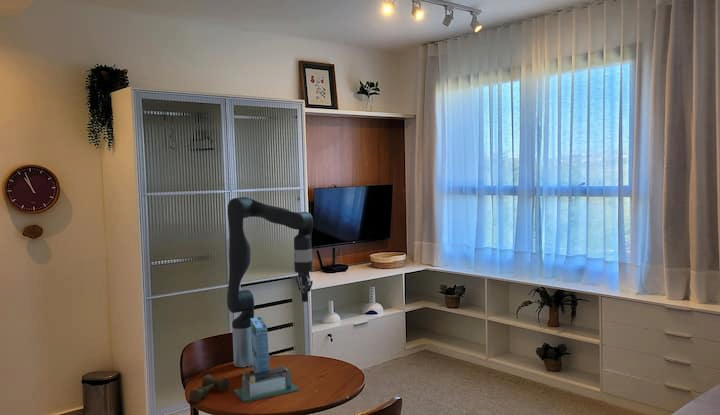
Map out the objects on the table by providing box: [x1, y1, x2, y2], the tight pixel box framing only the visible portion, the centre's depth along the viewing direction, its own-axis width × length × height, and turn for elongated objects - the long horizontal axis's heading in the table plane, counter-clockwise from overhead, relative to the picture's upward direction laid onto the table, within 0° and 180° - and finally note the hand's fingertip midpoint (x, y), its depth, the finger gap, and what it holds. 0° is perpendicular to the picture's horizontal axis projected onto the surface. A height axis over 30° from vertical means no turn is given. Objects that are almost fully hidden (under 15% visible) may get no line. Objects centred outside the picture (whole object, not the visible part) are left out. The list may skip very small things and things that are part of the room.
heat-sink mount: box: [233, 365, 300, 404], centre depth 219 cm, size 13×22×8 cm, turn 119°
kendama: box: [189, 374, 230, 404], centre depth 219 cm, size 6×10×20 cm
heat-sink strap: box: [246, 366, 288, 379], centre depth 219 cm, size 4×16×1 cm, turn 119°
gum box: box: [250, 316, 271, 373], centre depth 236 cm, size 20×5×23 cm, turn 17°
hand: (304, 301), depth 235 cm, fingers closed
